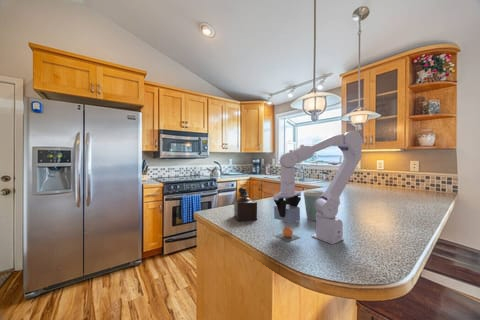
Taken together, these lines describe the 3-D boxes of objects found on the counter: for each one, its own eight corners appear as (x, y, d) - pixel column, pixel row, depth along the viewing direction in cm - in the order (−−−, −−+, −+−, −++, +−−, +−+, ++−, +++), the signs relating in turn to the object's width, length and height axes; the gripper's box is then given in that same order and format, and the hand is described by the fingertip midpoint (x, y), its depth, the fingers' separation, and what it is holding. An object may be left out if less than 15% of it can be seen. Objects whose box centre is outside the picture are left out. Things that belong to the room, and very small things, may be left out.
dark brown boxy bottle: (232, 215, 112) (232, 183, 112) (251, 214, 115) (251, 183, 115) (239, 225, 97) (239, 188, 97) (260, 223, 100) (260, 187, 100)
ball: (292, 225, 83) (286, 227, 86) (286, 227, 81) (279, 228, 84) (296, 235, 82) (289, 236, 85) (289, 237, 79) (282, 238, 82)
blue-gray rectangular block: (299, 220, 81) (299, 207, 81) (290, 223, 78) (289, 209, 78) (283, 216, 88) (283, 204, 88) (274, 218, 85) (274, 206, 85)
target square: (299, 237, 82) (299, 237, 82) (288, 241, 78) (288, 241, 78) (286, 232, 88) (286, 231, 88) (275, 236, 84) (275, 235, 84)
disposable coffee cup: (300, 219, 106) (300, 190, 106) (306, 214, 115) (306, 188, 114) (321, 223, 100) (321, 193, 99) (326, 217, 108) (326, 190, 108)
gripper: (291, 180, 90) (291, 210, 90) (267, 182, 82) (267, 216, 82) (305, 181, 84) (304, 214, 84) (280, 184, 76) (280, 220, 76)
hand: (287, 215), depth 83 cm, fingers closed on blue-gray rectangular block, 6 cm apart
